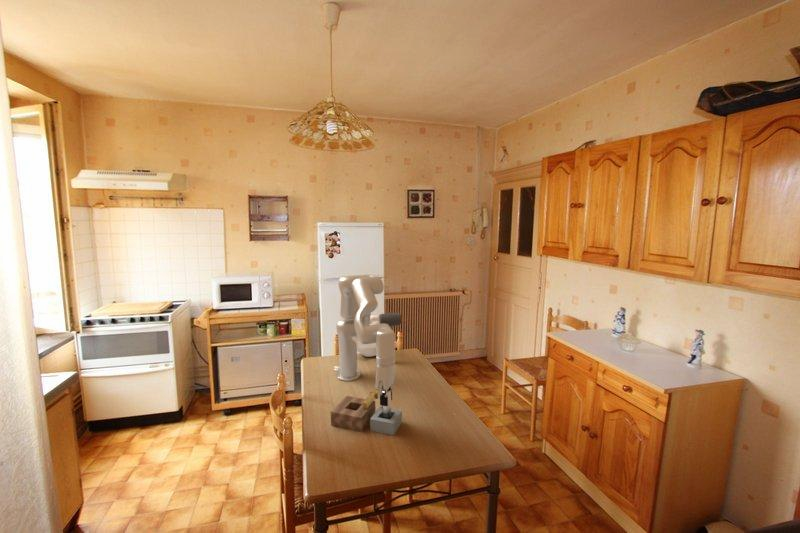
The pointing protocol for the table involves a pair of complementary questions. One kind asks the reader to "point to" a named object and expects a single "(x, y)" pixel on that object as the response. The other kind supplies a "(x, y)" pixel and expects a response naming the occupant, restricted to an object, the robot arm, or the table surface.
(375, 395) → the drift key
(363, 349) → the decorative rooster
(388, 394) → the steel peg
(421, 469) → the table surface
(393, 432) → the grey square ring block
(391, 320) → the rubber mallet
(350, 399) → the socket block
